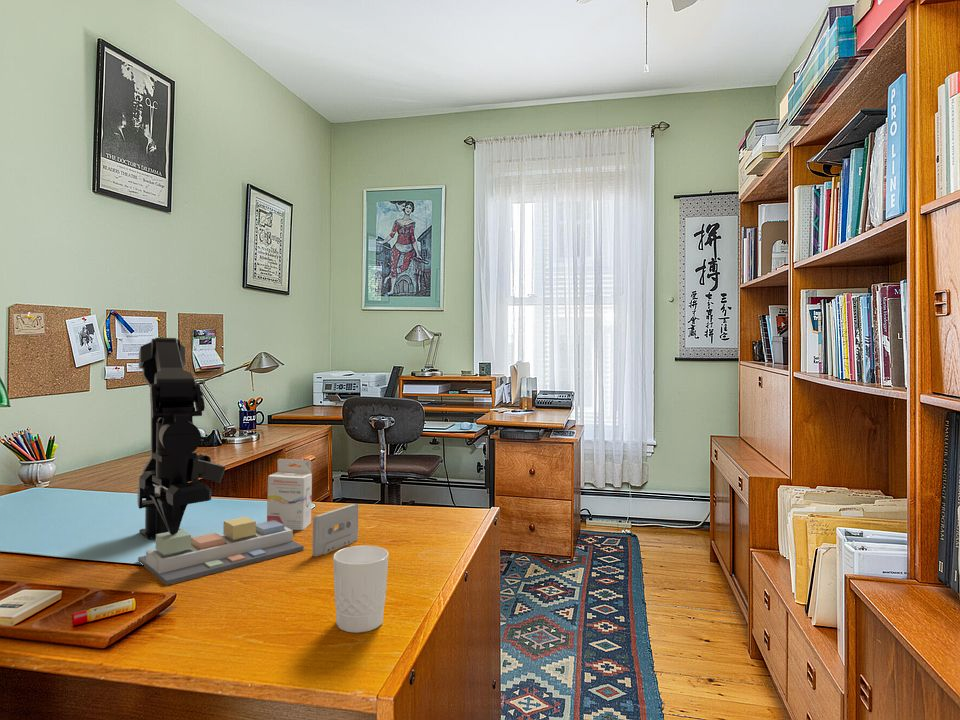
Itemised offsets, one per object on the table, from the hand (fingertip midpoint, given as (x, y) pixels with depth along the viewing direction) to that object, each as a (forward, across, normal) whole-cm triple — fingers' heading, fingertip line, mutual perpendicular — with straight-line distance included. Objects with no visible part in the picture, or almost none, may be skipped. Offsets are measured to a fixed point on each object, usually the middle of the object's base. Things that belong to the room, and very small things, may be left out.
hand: (173, 533), depth 104 cm
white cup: (+6, -41, -12) cm, 43 cm away
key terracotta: (+5, 0, -6) cm, 8 cm away
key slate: (+5, 0, -18) cm, 19 cm away
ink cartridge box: (+6, +8, -27) cm, 29 cm away
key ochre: (+3, 0, -12) cm, 12 cm away
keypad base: (+6, 0, -9) cm, 11 cm away
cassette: (+6, -11, -27) cm, 30 cm away
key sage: (+3, 0, 0) cm, 3 cm away
